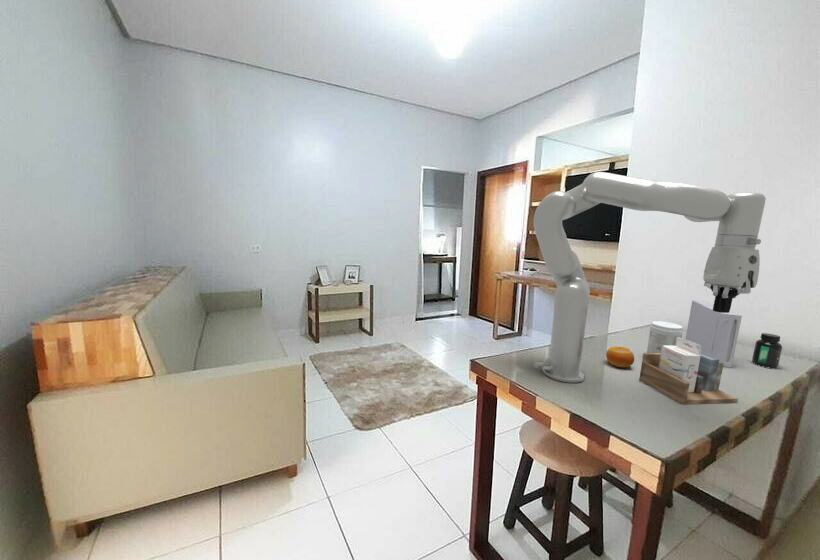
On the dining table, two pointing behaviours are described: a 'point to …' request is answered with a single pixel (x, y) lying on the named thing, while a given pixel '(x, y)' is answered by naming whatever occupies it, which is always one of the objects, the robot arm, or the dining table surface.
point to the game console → (713, 331)
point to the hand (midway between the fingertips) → (720, 311)
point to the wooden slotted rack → (678, 388)
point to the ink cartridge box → (681, 361)
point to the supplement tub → (663, 335)
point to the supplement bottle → (767, 351)
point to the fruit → (620, 356)
